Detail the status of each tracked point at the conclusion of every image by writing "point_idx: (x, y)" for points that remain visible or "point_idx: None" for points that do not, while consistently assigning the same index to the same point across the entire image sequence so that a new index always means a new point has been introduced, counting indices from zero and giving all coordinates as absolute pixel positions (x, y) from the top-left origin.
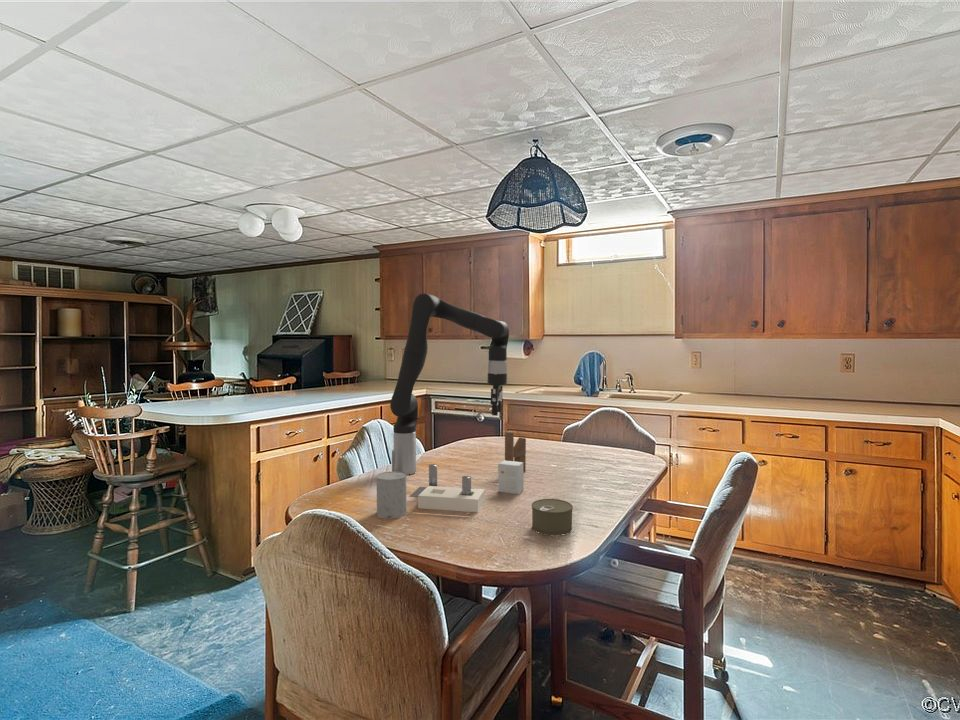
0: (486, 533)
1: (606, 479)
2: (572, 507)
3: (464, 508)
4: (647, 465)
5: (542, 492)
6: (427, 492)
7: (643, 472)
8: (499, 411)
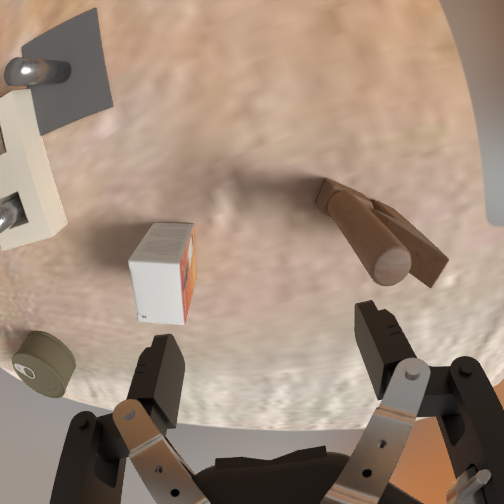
0: None
1: (346, 389)
2: (51, 397)
3: None
4: None
5: (201, 317)
6: None
7: None
8: (356, 332)
